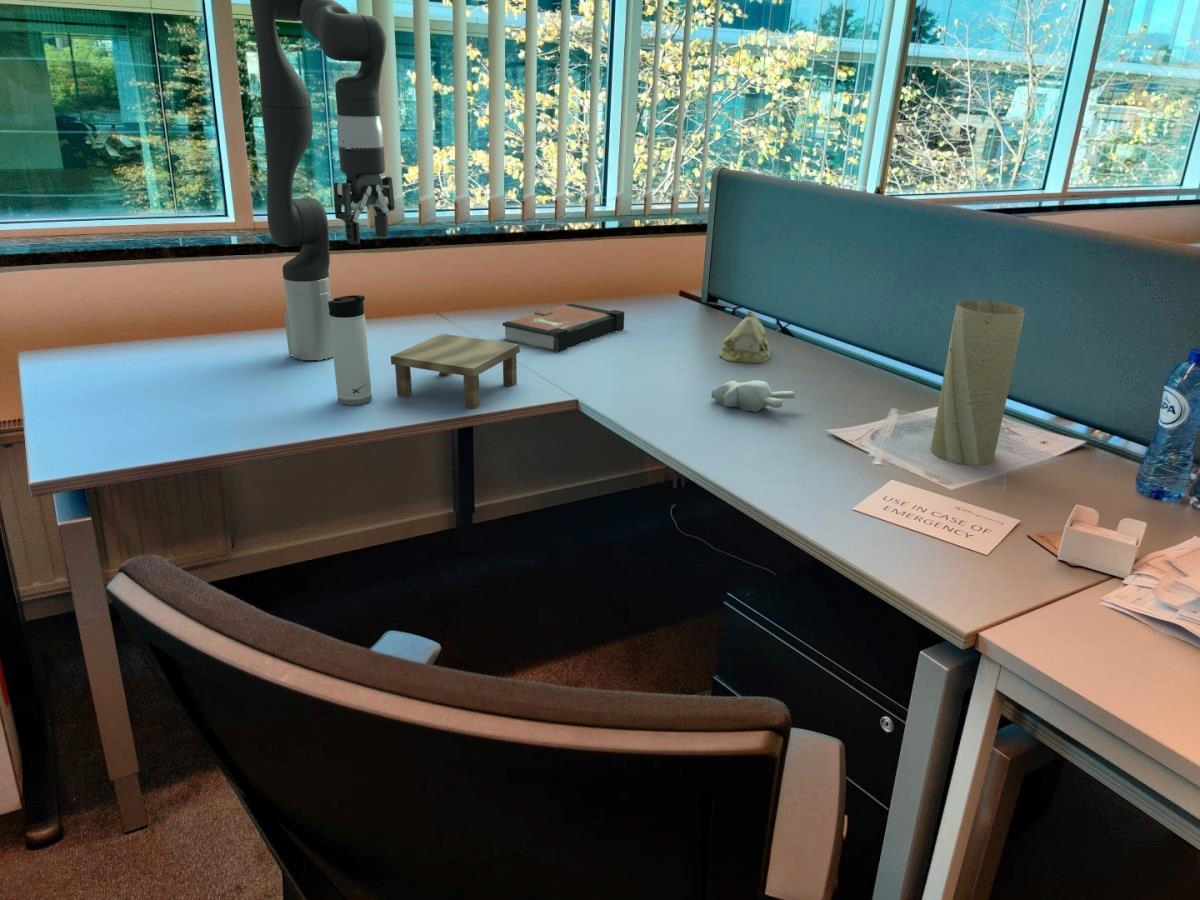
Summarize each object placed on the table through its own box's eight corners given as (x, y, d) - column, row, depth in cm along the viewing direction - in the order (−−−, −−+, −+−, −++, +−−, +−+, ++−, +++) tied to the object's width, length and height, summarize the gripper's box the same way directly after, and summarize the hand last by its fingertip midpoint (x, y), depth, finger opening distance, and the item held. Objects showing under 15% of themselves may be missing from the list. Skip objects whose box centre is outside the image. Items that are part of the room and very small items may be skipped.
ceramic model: (766, 366, 191) (771, 321, 187) (716, 360, 194) (719, 316, 190) (774, 349, 203) (778, 307, 199) (727, 344, 206) (730, 302, 202)
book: (568, 320, 226) (568, 301, 224) (623, 331, 217) (624, 311, 215) (500, 341, 206) (500, 320, 204) (558, 354, 197) (558, 332, 195)
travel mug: (364, 407, 161) (355, 300, 153) (331, 404, 162) (320, 298, 155) (379, 396, 167) (370, 293, 159) (347, 393, 168) (337, 290, 160)
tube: (961, 468, 140) (991, 316, 130) (917, 446, 149) (942, 302, 139) (1007, 459, 144) (1040, 311, 134) (962, 438, 152) (989, 297, 143)
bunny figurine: (727, 374, 171) (798, 380, 163) (728, 399, 173) (799, 406, 164) (703, 386, 164) (777, 393, 156) (704, 411, 166) (777, 420, 157)
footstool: (393, 396, 167) (390, 356, 164) (443, 370, 182) (441, 333, 179) (475, 410, 161) (473, 368, 158) (520, 382, 176) (519, 344, 173)
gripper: (367, 141, 156) (373, 232, 162) (316, 145, 144) (325, 244, 150) (403, 143, 154) (408, 236, 160) (354, 147, 141) (362, 248, 148)
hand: (368, 240), depth 155 cm, fingers open, 8 cm apart
